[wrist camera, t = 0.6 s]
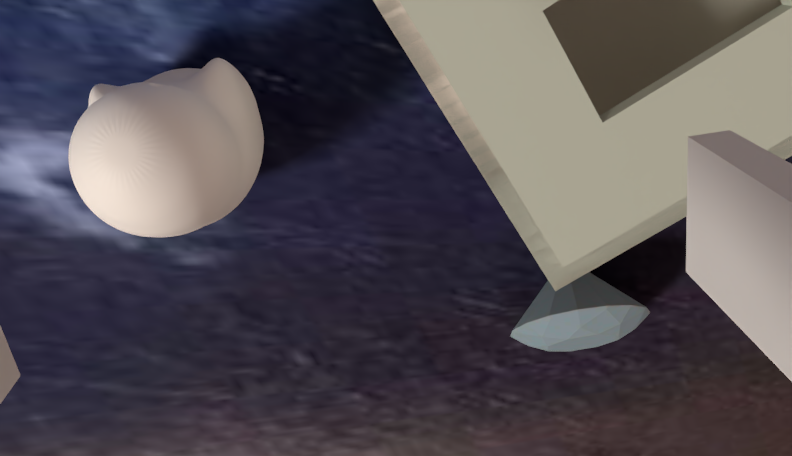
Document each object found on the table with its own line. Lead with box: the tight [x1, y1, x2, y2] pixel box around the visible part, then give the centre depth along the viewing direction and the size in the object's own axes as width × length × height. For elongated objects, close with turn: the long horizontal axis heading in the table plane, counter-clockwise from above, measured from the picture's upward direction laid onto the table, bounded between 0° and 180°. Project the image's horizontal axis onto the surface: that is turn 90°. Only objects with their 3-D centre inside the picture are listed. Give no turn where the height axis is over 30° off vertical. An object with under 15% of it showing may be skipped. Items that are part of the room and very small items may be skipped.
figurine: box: [69, 58, 264, 237], centre depth 32 cm, size 7×8×12 cm
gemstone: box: [510, 272, 650, 351], centre depth 41 cm, size 8×8×5 cm
